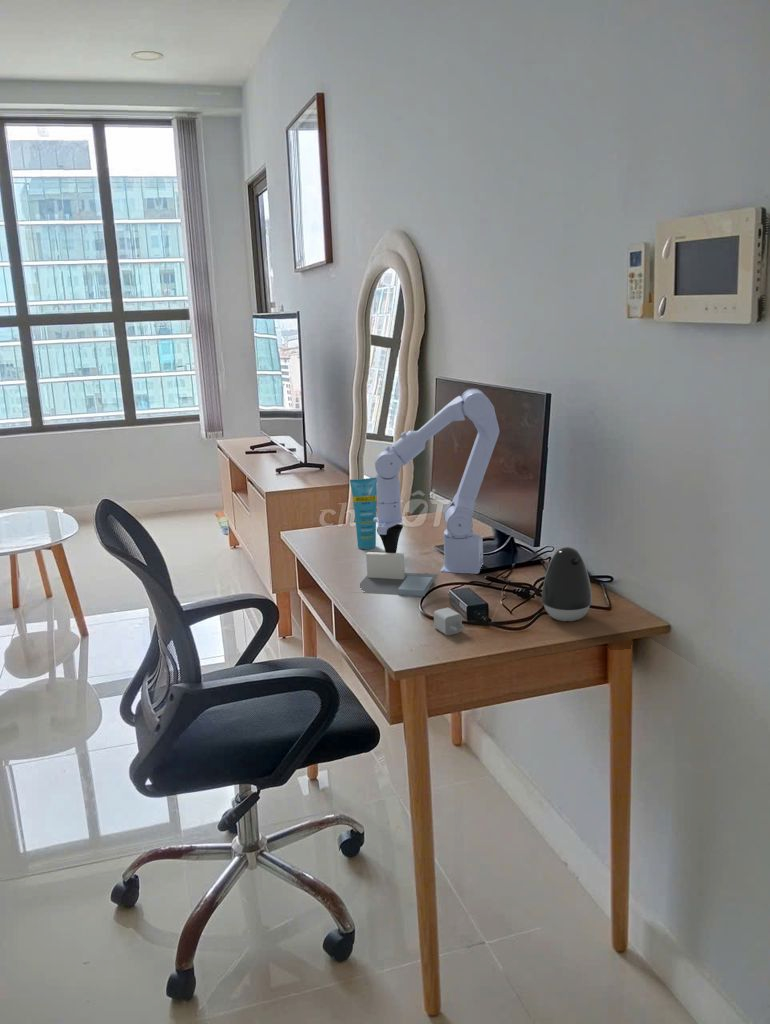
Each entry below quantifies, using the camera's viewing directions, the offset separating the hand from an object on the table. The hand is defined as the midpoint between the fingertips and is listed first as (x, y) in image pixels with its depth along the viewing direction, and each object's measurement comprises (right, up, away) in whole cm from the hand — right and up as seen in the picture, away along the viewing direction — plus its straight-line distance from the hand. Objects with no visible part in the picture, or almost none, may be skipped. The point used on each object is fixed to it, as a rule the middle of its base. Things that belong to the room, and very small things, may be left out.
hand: (391, 554), depth 209 cm
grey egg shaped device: (+36, -12, -32) cm, 50 cm away
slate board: (+6, -7, -12) cm, 15 cm away
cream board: (-1, -5, -4) cm, 7 cm away
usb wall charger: (+12, -14, -37) cm, 41 cm away
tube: (-6, +1, +22) cm, 23 cm away
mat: (+1, -7, -8) cm, 11 cm away
